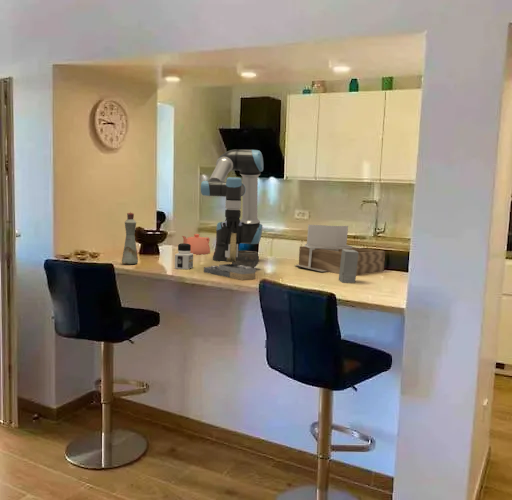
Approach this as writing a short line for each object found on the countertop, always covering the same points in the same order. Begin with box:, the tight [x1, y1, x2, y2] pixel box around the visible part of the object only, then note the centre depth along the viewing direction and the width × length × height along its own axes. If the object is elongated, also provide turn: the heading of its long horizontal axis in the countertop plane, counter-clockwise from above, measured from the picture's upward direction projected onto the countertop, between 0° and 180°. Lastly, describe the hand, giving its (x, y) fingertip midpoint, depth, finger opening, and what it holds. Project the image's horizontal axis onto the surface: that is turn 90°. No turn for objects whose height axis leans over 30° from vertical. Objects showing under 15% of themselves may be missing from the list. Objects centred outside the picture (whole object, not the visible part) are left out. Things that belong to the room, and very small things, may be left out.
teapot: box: [181, 233, 211, 256], centre depth 362 cm, size 25×17×13 cm
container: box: [174, 242, 194, 270], centre depth 301 cm, size 8×8×13 cm
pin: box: [226, 233, 237, 263], centre depth 280 cm, size 4×4×14 cm
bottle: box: [121, 211, 139, 265], centre depth 310 cm, size 9×9×28 cm
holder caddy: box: [298, 245, 386, 276], centre depth 317 cm, size 29×36×12 cm
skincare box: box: [338, 249, 358, 284], centre depth 273 cm, size 8×7×16 cm
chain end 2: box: [218, 263, 256, 281], centre depth 278 cm, size 8×18×6 cm, turn 43°
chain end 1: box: [203, 265, 231, 279], centre depth 286 cm, size 8×20×3 cm, turn 43°
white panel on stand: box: [295, 224, 353, 272], centre depth 317 cm, size 28×21×23 cm
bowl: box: [231, 250, 260, 268], centre depth 302 cm, size 14×15×10 cm
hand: (231, 256), depth 281 cm, fingers closed on pin, 4 cm apart
